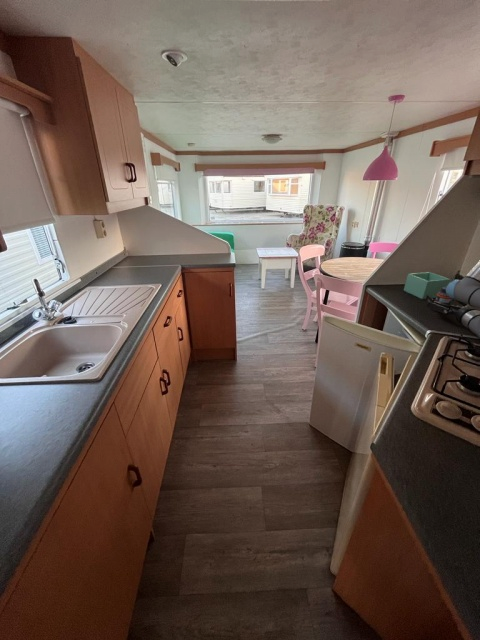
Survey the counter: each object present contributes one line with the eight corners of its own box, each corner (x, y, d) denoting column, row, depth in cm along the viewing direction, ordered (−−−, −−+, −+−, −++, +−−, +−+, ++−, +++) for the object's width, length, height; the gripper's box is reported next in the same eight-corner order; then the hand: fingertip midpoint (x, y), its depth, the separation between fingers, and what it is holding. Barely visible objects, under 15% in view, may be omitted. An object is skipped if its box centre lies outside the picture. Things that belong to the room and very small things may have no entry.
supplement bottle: (431, 306, 130) (439, 285, 125) (446, 309, 128) (454, 287, 123) (432, 311, 126) (439, 289, 121) (447, 314, 123) (456, 291, 118)
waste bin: (444, 296, 141) (450, 279, 137) (422, 299, 139) (427, 281, 135) (424, 288, 153) (429, 271, 149) (403, 290, 151) (408, 273, 147)
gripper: (434, 325, 110) (411, 304, 128) (501, 327, 107) (468, 305, 125) (440, 308, 106) (416, 290, 125) (509, 310, 103) (474, 291, 122)
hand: (442, 297), depth 125 cm, fingers open, 13 cm apart
